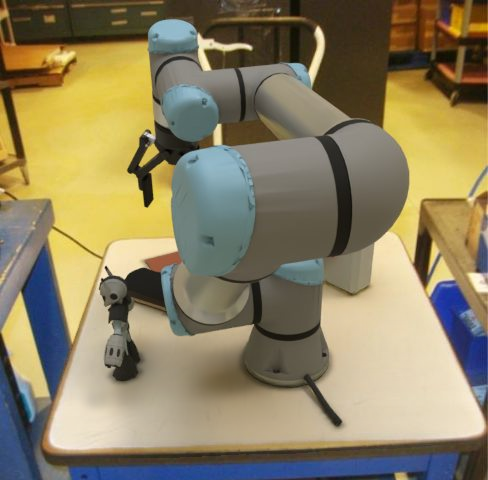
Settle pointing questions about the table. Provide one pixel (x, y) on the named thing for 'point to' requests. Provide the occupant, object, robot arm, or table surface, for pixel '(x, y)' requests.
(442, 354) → the table surface
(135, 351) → the robot
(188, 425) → the table surface
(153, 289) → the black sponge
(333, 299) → the table surface
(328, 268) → the bevelled white case
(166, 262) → the pad
